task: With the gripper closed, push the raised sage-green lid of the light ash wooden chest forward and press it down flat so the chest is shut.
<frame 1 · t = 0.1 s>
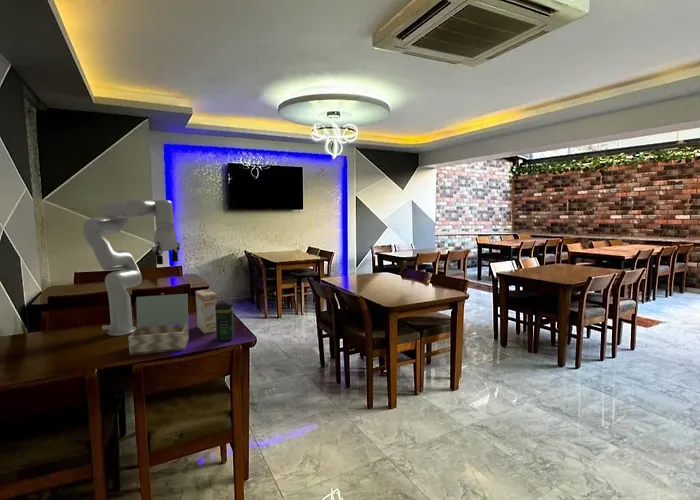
hand: (167, 262, 189), 37 cm above the table, tool pointing down, fingers open, 9 cm apart
coffeecake box: (207, 329, 207), on the table
lid: (162, 309, 188), point 15 cm above the table, hinge at 100.0°
chest: (160, 347, 181), on the table
coffee jar: (225, 338, 191), on the table
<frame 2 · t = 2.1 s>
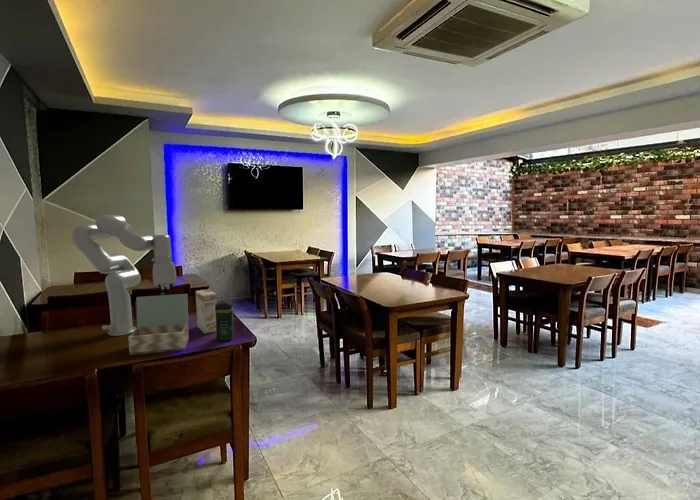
hand: (166, 297, 195), 19 cm above the table, tool pointing down, fingers closed
nothing on the table moved.
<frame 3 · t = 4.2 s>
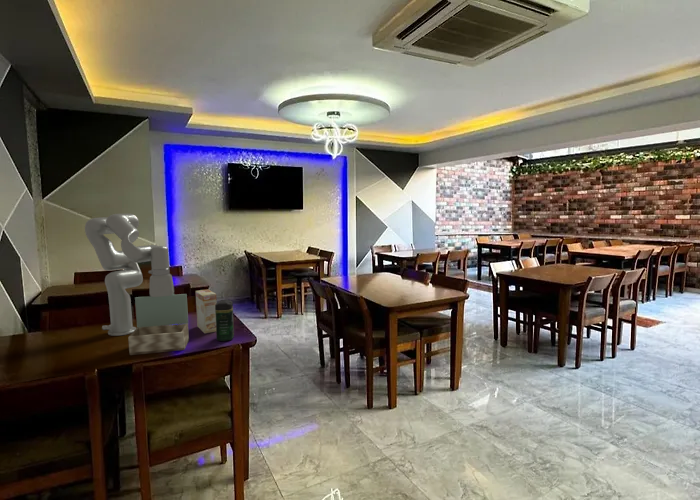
hand: (163, 310, 189), 15 cm above the table, tool pointing down, fingers closed
lid: (162, 309, 187), point 16 cm above the table, hinge at 90.8°, touching gripper
everything else where it was.
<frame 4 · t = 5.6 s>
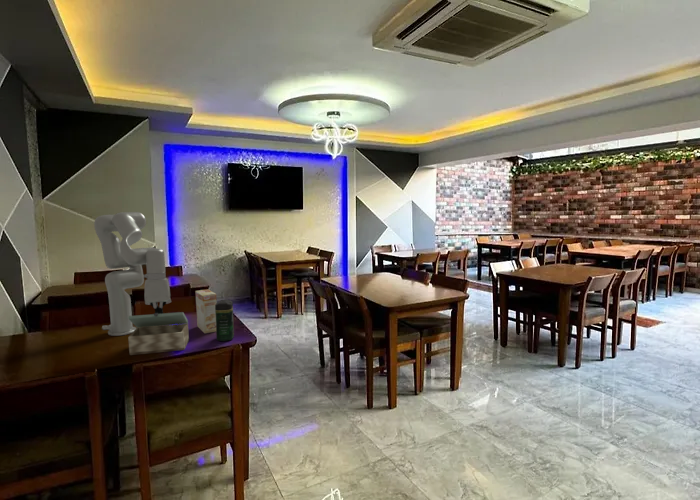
hand: (159, 316, 180), 14 cm above the table, tool pointing down, fingers closed
lid: (159, 319, 180), point 13 cm above the table, hinge at 31.9°
everything else where it was.
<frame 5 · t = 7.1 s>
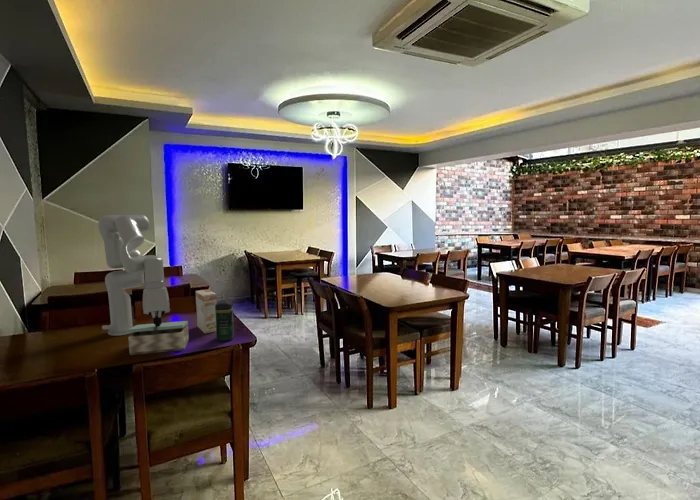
hand: (158, 325, 176), 11 cm above the table, tool pointing down, fingers closed
lid: (159, 326, 179), point 10 cm above the table, hinge at 7.8°, touching gripper
everything else where it was.
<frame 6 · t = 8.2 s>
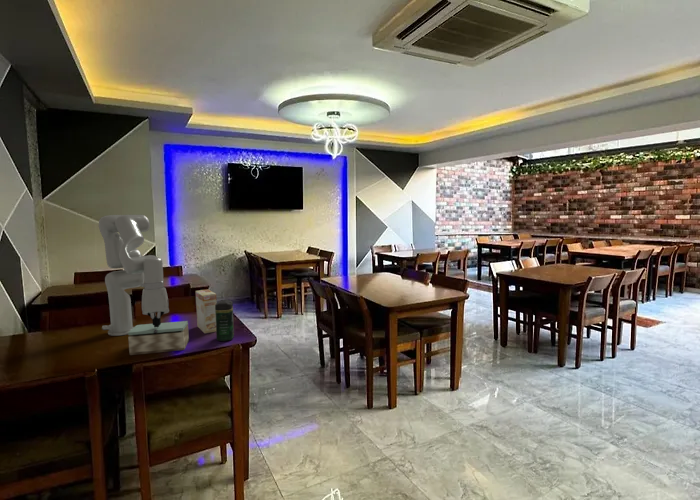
hand: (156, 326, 176), 11 cm above the table, tool pointing down, fingers closed
lid: (159, 327, 179), point 9 cm above the table, hinge at 3.0°
everything else where it was.
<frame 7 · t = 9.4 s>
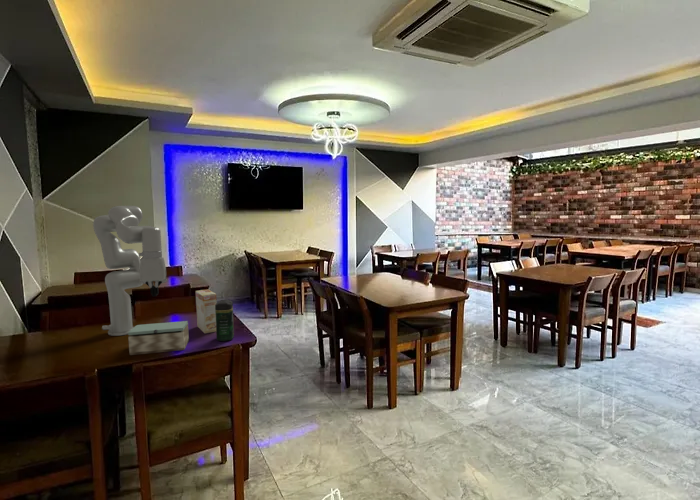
hand: (154, 295, 178), 24 cm above the table, tool pointing down, fingers closed
nothing on the table moved.
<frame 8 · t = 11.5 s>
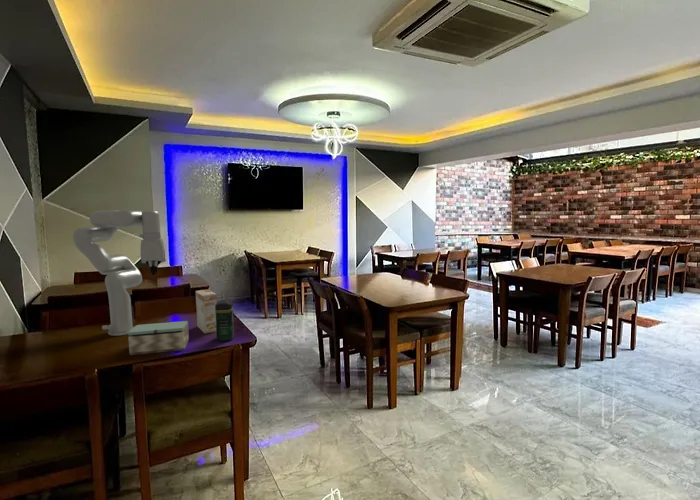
hand: (154, 274, 192), 31 cm above the table, tool pointing down, fingers closed
nothing on the table moved.
at the end: lid at +3° (first picture: +100°); coffeecake box moved 0.2 cm from its start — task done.
